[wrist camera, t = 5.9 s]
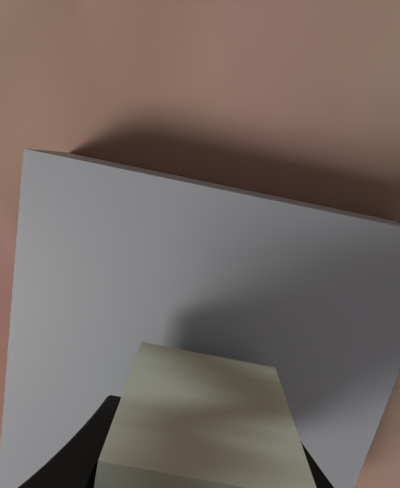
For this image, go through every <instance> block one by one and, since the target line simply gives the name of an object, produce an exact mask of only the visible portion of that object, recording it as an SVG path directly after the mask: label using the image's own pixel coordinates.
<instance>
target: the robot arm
mask: <svg viewBox="0 0 400 488" xmlns="http://www.w3.org/2000/svg"><path fill="white" fill-rule="evenodd" d="M120 399H121V397H119V396H113V395H110V396H108V397H106V399H105V400H104V402H103V403H102V404H101V406H100V407H99V408H98V409H97V411H96V412H95V413H94V414H93V415H92V417H91V418H90V419H89V420H88V421H87V422H86V424H85V425H84V426H83V427H82V428H81V429H80V430H79V431H78V432H77V433H76V434H75V435H74V436H73V438H72V439H71V440H70V441H69V442H68V443H67V444H66V445H65V446H64V447H63V448H62V449H61V450H60V451H58V452H57V453H56V454H55V455H54V456H53V457H52V458H51V459H50V460H49V461H48V462H47V463H46V464H45V465H44V466H43V467H42V468H40V469H39V470H38V471H37V472H36V473H35V474H34V475H32V476H31V477H30V478H29V479H28V480H27V481H25V482H24V483H23V484H22V485H21V486H19V487H18V488H94V483H95V477H96V470H97V464H98V460H99V457H100V454H101V451H102V449H103V446H104V443H105V440H106V438H107V435H108V432H109V429H110V427H111V424H112V421H113V418H114V416H115V413H116V410H117V408H118V405H119V402H120ZM301 444H302V442H301ZM302 447H303V450H304V453H305V456H306V459H307V461H308V464H309V467H310V470H311V473H312V476H313V479H314V482H315V485H316V488H334V487H333V486H332V484H331V483H330V482H329V480H328V479H327V477H326V476H325V475H324V473H323V472H322V471H321V469H320V468H319V466H318V465H317V464H316V462H315V461H314V459H313V458H312V456H311V455H310V454H309V452H308V451H307V449H306V448H305V446H304V445H303V444H302Z"/></svg>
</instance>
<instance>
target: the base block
mask: <svg viewBox="0 0 400 488" xmlns="http://www.w3.org/2000/svg"><path fill="white" fill-rule="evenodd" d="M141 342H145V343H150V344H155V345H161V346H166V347H171V348H176V349H181V350H186V351H192V352H197V353H202V354H207V355H212V356H217V357H223V358H228V359H233V360H238V361H243V362H249V363H254V364H259V365H264V366H269V367H274V368H276V371H277V374H278V377H279V380H280V383H281V386H282V389H283V392H284V394H285V397H286V400H287V403H288V406H289V409H290V412H291V415H292V418H293V421H294V424H295V426H296V429H297V432H298V435H299V438H300V441H301V442H302V444H303V445H304V446H305V448H306V449H307V451H308V452H309V454H310V455H311V456H312V458H313V459H314V461H315V462H316V464H317V465H318V466H319V468H320V469H321V471H322V472H323V473H324V475H325V476H326V477H327V479H328V480H329V482H330V483H331V484H332V486H333V487H334V488H354V487H355V485H356V482H357V479H358V477H359V474H360V472H361V469H362V467H363V464H364V461H365V459H366V456H367V454H368V451H369V449H370V446H371V443H372V441H373V438H374V436H375V433H376V431H377V428H378V425H379V423H380V420H381V418H382V415H383V413H384V410H385V407H386V405H387V402H388V400H389V397H390V394H391V392H392V389H393V387H394V384H395V382H396V379H397V376H398V374H399V371H400V222H397V221H393V220H389V219H384V218H379V217H375V216H370V215H365V214H360V213H355V212H350V211H346V210H341V209H336V208H331V207H326V206H322V205H317V204H312V203H307V202H302V201H298V200H293V199H288V198H283V197H278V196H274V195H269V194H264V193H259V192H254V191H250V190H245V189H240V188H235V187H230V186H226V185H221V184H216V183H211V182H206V181H202V180H197V179H192V178H187V177H182V176H178V175H173V174H168V173H163V172H158V171H154V170H149V169H144V168H139V167H134V166H130V165H125V164H120V163H115V162H110V161H106V160H101V159H96V158H91V157H86V156H82V155H77V154H72V153H65V152H55V151H44V150H34V149H24V150H23V162H22V175H21V188H20V201H19V214H18V227H17V240H16V253H15V266H14V279H13V292H12V305H11V318H10V331H9V343H8V356H7V369H6V382H5V395H4V408H3V421H2V434H1V447H0V488H18V487H19V486H21V485H22V484H23V483H24V482H25V481H27V480H28V479H29V478H30V477H31V476H32V475H34V474H35V473H36V472H37V471H38V470H39V469H40V468H42V467H43V466H44V465H45V464H46V463H47V462H48V461H49V460H50V459H51V458H52V457H53V456H54V455H55V454H56V453H57V452H58V451H60V450H61V449H62V448H63V447H64V446H65V445H66V444H67V443H68V442H69V441H70V440H71V439H72V438H73V436H74V435H75V434H76V433H77V432H78V431H79V430H80V429H81V428H82V427H83V426H84V425H85V424H86V422H87V421H88V420H89V419H90V418H91V417H92V415H93V414H94V413H95V412H96V411H97V409H98V408H99V407H100V406H101V404H102V403H103V402H104V400H105V399H106V397H108V396H110V395H113V396H119V397H122V394H123V391H124V388H125V386H126V383H127V380H128V377H129V375H130V372H131V369H132V366H133V364H134V361H135V358H136V356H137V353H138V350H139V347H140V345H141Z"/></svg>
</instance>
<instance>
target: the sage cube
mask: <svg viewBox="0 0 400 488" xmlns="http://www.w3.org/2000/svg"><path fill="white" fill-rule="evenodd" d="M94 488H316V485H315V482H314V479H313V476H312V473H311V470H310V467H309V464H308V461H307V459H306V456H305V453H304V450H303V447H302V444H301V441H300V438H299V435H298V432H297V429H296V426H295V424H294V421H293V418H292V415H291V412H290V409H289V406H288V403H287V400H286V397H285V394H284V392H283V389H282V386H281V383H280V380H279V377H278V374H277V371H276V368H274V367H269V366H264V365H259V364H254V363H249V362H243V361H238V360H233V359H228V358H223V357H217V356H212V355H207V354H202V353H197V352H192V351H186V350H181V349H176V348H171V347H166V346H161V345H155V344H150V343H145V342H141V345H140V347H139V350H138V353H137V356H136V358H135V361H134V364H133V366H132V369H131V372H130V375H129V377H128V380H127V383H126V386H125V388H124V391H123V394H122V397H121V399H120V402H119V405H118V408H117V410H116V413H115V416H114V418H113V421H112V424H111V427H110V429H109V432H108V435H107V438H106V440H105V443H104V446H103V449H102V451H101V454H100V457H99V460H98V464H97V470H96V477H95V483H94Z"/></svg>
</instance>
